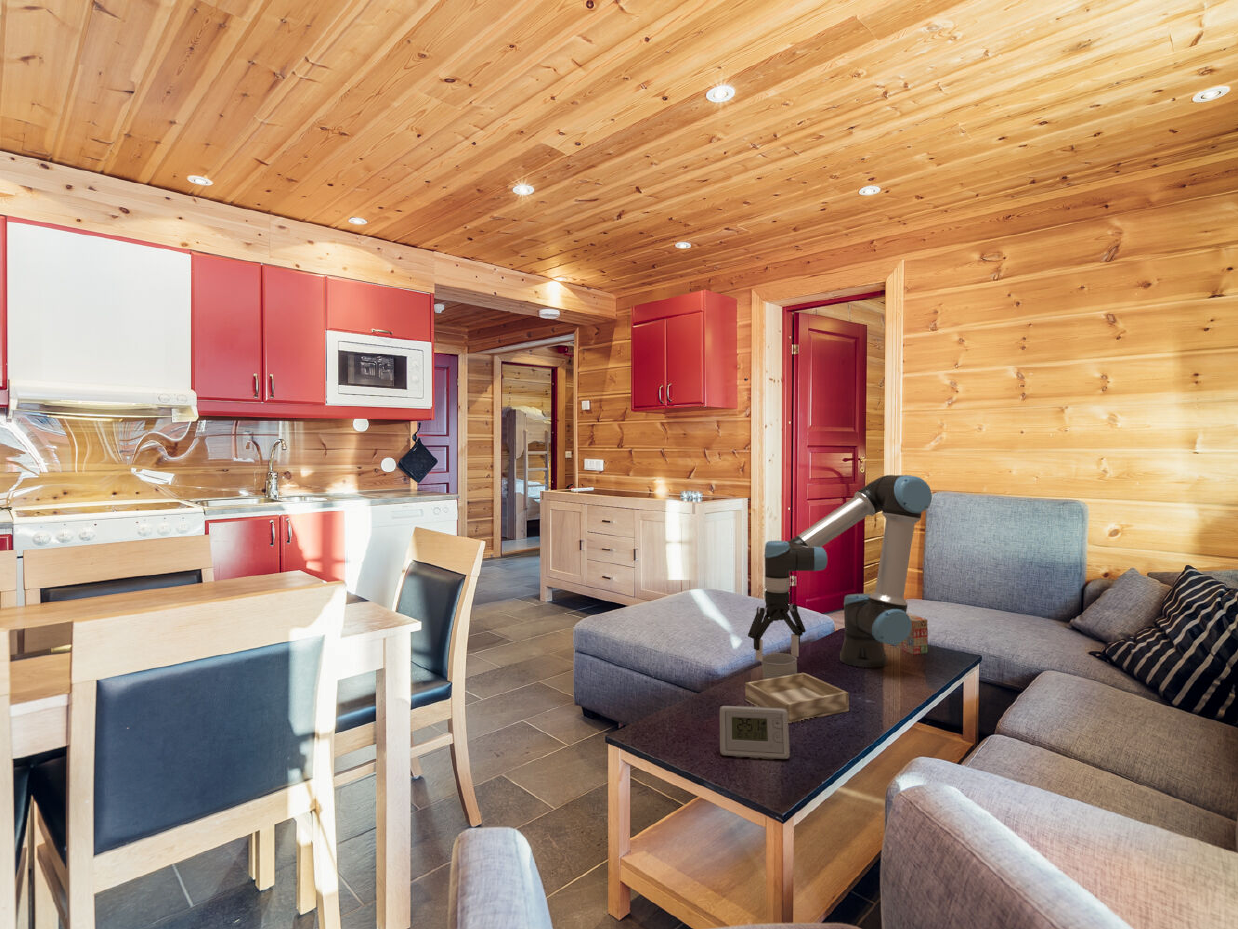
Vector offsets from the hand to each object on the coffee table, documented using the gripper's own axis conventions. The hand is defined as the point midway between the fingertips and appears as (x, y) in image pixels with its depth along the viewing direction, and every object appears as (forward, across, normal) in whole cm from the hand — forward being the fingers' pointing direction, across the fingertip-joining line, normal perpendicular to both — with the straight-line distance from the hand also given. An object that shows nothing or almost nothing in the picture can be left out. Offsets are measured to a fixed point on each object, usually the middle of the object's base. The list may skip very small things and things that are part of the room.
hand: (777, 657), depth 200 cm
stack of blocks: (+7, -64, -12) cm, 66 cm away
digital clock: (+8, +36, +39) cm, 54 cm away
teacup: (+8, -1, 0) cm, 8 cm away
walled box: (+7, +7, +19) cm, 21 cm away
